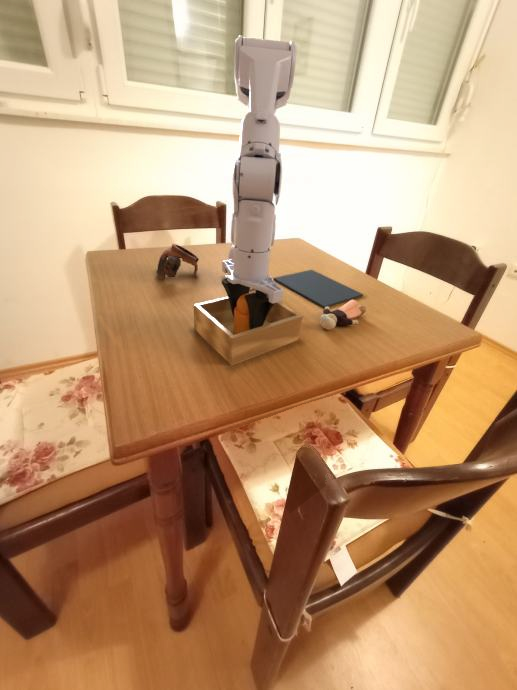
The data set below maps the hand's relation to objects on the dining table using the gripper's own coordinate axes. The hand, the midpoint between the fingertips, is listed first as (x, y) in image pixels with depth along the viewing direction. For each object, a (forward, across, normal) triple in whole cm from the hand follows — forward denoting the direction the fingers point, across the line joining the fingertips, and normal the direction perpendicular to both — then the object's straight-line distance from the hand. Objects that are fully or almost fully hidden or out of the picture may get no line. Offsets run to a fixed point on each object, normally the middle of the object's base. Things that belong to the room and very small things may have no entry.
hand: (247, 322), depth 56 cm
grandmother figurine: (+2, +4, +26) cm, 27 cm away
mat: (+3, -10, +29) cm, 31 cm away
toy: (+2, 0, 0) cm, 2 cm away
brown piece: (+3, -32, +1) cm, 32 cm away
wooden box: (+3, 0, 0) cm, 3 cm away
